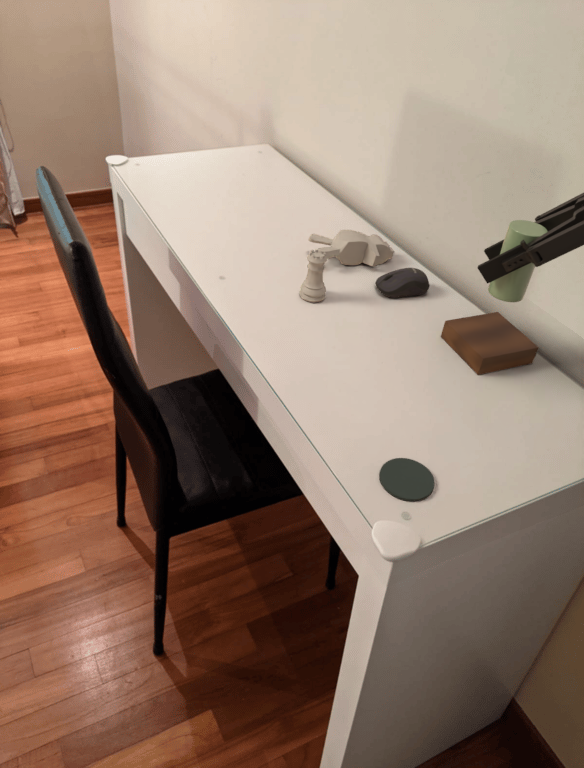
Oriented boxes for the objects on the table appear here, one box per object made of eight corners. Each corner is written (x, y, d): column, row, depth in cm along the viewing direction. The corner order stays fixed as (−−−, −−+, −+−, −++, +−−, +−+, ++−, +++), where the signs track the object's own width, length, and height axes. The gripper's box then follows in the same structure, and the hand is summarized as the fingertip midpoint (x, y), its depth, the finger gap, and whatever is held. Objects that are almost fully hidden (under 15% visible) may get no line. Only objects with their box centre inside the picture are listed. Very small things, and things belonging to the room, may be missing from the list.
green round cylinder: (530, 300, 86) (556, 234, 80) (502, 304, 84) (525, 237, 78) (508, 282, 90) (531, 218, 83) (480, 286, 88) (501, 221, 82)
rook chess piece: (293, 293, 102) (297, 250, 97) (314, 287, 104) (319, 244, 99) (310, 306, 99) (315, 262, 94) (331, 299, 101) (337, 255, 96)
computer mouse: (370, 283, 106) (374, 263, 104) (419, 280, 109) (424, 260, 106) (382, 300, 102) (386, 279, 100) (432, 297, 105) (438, 276, 102)
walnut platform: (532, 363, 92) (539, 347, 90) (477, 375, 88) (483, 358, 86) (492, 327, 99) (497, 311, 97) (440, 336, 95) (445, 320, 93)
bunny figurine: (403, 250, 108) (324, 245, 104) (394, 276, 111) (317, 271, 107) (383, 227, 115) (309, 220, 110) (376, 251, 118) (303, 246, 114)
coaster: (444, 493, 70) (445, 491, 70) (396, 507, 68) (396, 505, 68) (415, 455, 75) (416, 452, 74) (369, 466, 73) (370, 464, 72)
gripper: (648, 129, 77) (482, 221, 92) (656, 171, 64) (460, 271, 78) (674, 180, 79) (507, 261, 94) (686, 231, 66) (489, 317, 80)
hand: (486, 265), depth 86 cm, fingers closed on green round cylinder, 5 cm apart
